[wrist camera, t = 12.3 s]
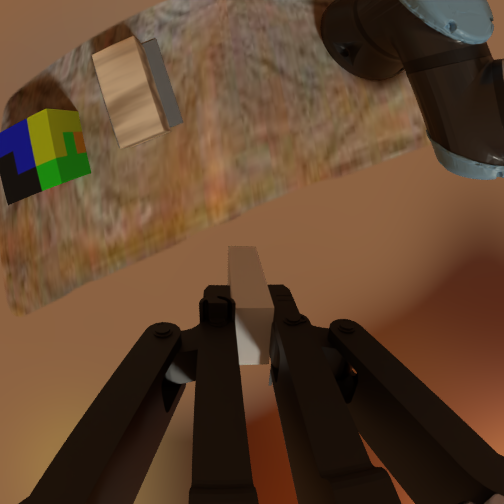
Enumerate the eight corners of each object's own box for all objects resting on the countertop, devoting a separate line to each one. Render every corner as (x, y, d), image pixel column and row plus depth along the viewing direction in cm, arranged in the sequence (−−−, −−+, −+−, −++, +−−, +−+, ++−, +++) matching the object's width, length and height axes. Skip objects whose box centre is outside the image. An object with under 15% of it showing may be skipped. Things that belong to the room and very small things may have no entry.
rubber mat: (183, 122, 41) (183, 122, 41) (120, 147, 41) (119, 148, 41) (156, 39, 36) (155, 38, 36) (94, 66, 36) (94, 66, 36)
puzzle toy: (29, 133, 38) (-7, 137, 29) (78, 111, 38) (46, 108, 29) (41, 190, 42) (8, 205, 33) (91, 172, 42) (62, 183, 33)
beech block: (163, 130, 35) (133, 35, 30) (120, 148, 36) (91, 55, 30) (171, 131, 41) (143, 47, 36) (132, 146, 41) (106, 63, 36)
